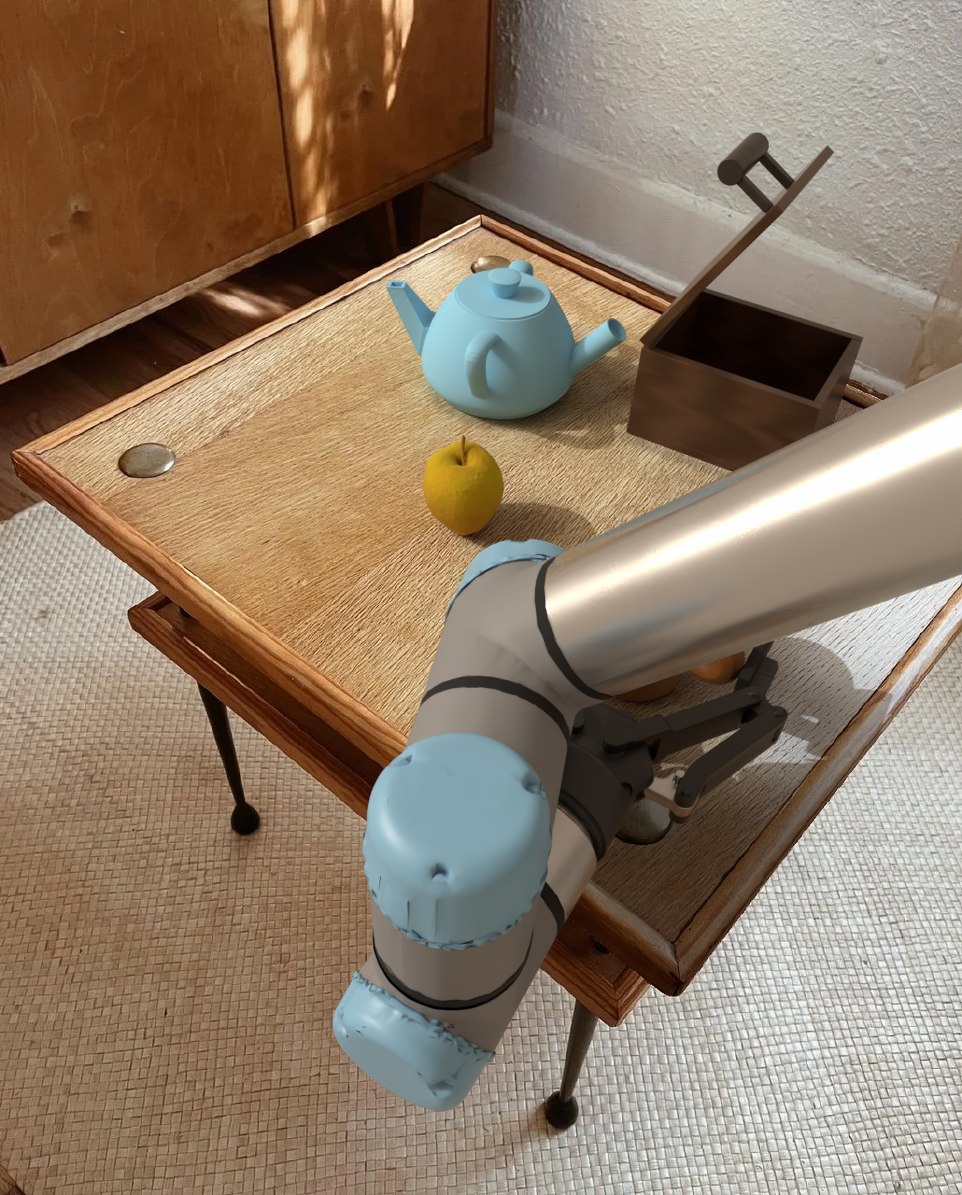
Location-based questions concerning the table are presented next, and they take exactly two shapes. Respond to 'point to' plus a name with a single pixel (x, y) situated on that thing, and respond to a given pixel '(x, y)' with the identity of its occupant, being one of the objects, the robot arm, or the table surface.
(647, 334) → the lid
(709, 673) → the mug
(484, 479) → the apple
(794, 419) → the chest
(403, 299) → the teapot
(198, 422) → the table surface
